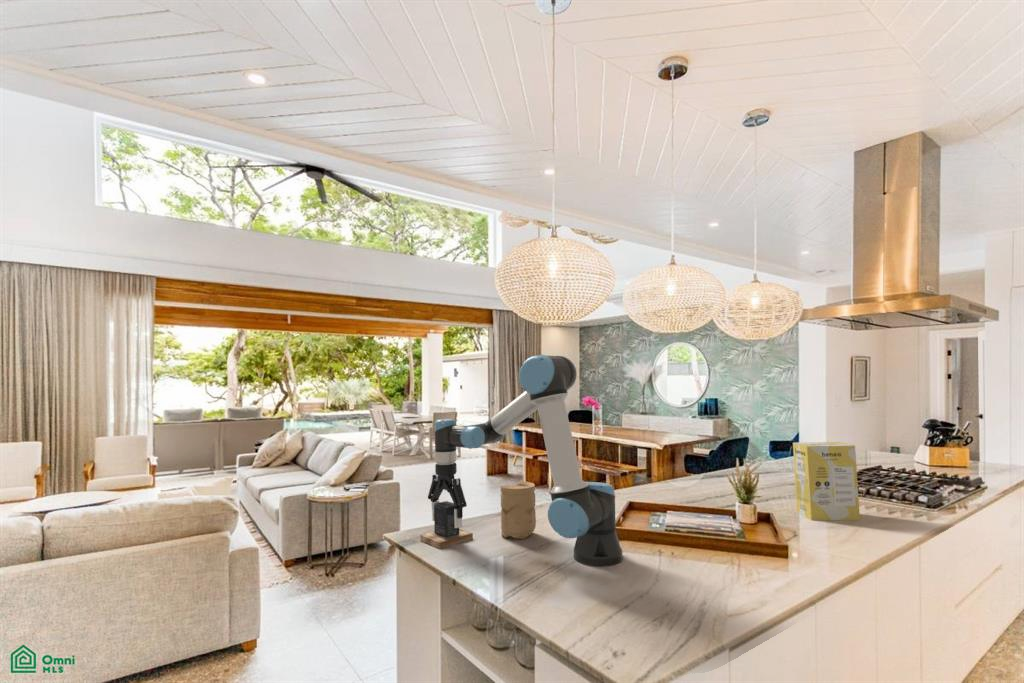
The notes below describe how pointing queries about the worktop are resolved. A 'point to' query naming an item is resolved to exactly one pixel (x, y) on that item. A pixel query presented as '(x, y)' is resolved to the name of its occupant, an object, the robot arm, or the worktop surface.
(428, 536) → the board
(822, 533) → the worktop surface
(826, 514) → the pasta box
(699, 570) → the worktop surface
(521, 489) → the container
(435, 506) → the box
